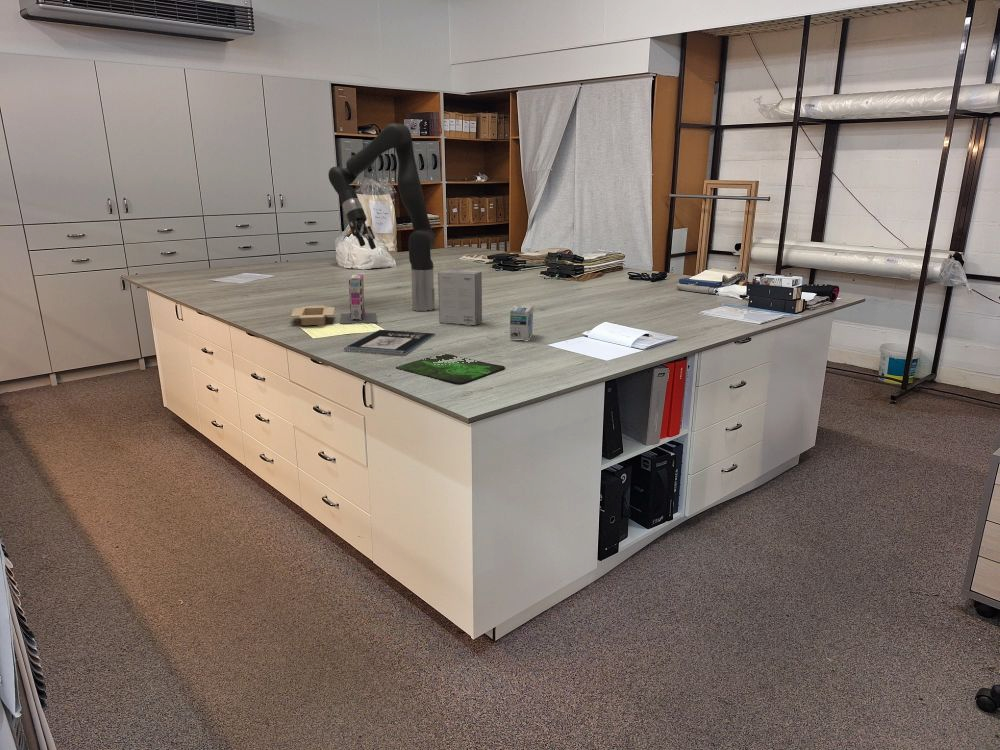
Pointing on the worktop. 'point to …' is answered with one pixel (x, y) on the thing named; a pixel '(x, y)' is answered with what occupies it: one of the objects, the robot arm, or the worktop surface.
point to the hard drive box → (460, 297)
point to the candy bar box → (356, 297)
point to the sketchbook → (390, 342)
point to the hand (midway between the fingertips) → (368, 247)
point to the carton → (313, 314)
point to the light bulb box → (521, 322)
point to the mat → (366, 319)
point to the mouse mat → (451, 369)
